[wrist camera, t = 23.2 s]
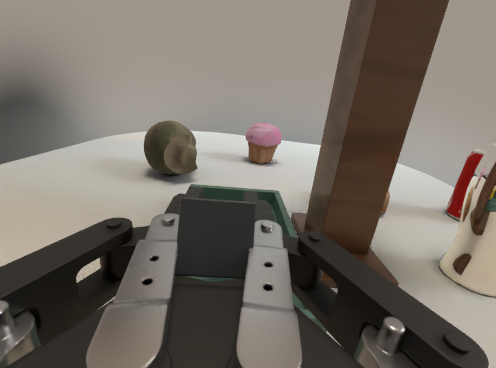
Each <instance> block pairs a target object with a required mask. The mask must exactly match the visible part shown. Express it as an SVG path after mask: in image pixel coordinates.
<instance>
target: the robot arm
mask: <svg viewBox="0 0 496 368" xmlns="http://www.w3.org/2000/svg"><path fill="white" fill-rule="evenodd" d="M182 197H189V198H202V199H203V187H195V186H190V187H189V189H188V191H187V193H186V194H178V195H176V196H175V197H173V199H172V201H171V203H170V204H169V206H168V208H167V210H166V211H165V213H164V214H161V215H158V216H156V217H154V218H153V219H152V222H151V224H150V226H145V227H136V228H133V226H132V222H131V221H130V220H129V219H126V218H111V219H107V220H104V221H102V222H99V223H97V224H95V225H93V226H91V227H88V228H86V229H84V230H82V231H79V232H77V233H75V234H73V235H71V236H68V237H66V238H64V239H62V240H59V241H57V242H55V243H53V244H51V245H48V246H46V247H44V248H42V249H40V250H37V251H35V252H33V253H31V254H28V255H26V256H24V257H22V258H20V259H17V260H15V261H13V262H11V263H8V264H6V265H4V266H2V267H0V368H488V365H489V362H488V358H487V356H486V354H485V353H484V351H483V350H482V349H481V347H480V346H479V345H478V344H477V343H476V342H475V341H473V340H472V339H471V338H470V337H469V336H467V335H466V334H464V333H463V332H462V331H460V330H459V329H457V328H456V327H454V326H453V325H452V324H450V323H449V322H447V321H446V320H445V319H443V318H442V317H440V316H439V315H437V314H436V313H435V312H433V311H432V310H430V309H429V308H428V307H426V306H425V305H423V304H422V303H420V302H419V301H418V300H416V299H415V298H413V297H412V296H411V295H409V294H408V293H406V292H405V291H403V290H402V289H401V288H399V287H398V286H396V285H395V284H394V283H392V282H391V281H389V280H388V279H386V278H385V277H384V276H382V275H381V274H379V273H378V272H377V271H375V270H374V269H372V268H371V267H369V266H368V265H367V264H365V263H364V262H362V261H361V260H360V259H358V258H357V257H355V256H354V255H353V254H351V253H350V252H348V251H347V250H345V249H344V248H343V247H341V246H340V245H338V244H337V243H336V242H334V241H333V240H331V239H330V238H328V237H327V236H326V235H324V234H322V233H320V232H316V231H303V232H301V233H300V234H299V238H296V237H292V236H288V235H286V234H284V233H282V228H281V226H280V225H279V224H278V223H276V222H275V219H274V216H273V213H272V209H271V205H270V204H269V203H268V202H267V201H266V200H259V199H258V194H257V191H247V190H245V191H244V198H243V201H244V202H255V203H256V216H255V232H254V247H253V248H249V254H248V261H247V269H246V277H245V279H232V280H224V281H217V282H207V281H203V280H199V279H195V278H191V277H187V276H176V272H177V269H178V247H179V244H178V243H177V233H178V223H179V213H180V204H181V198H182ZM99 257H100V264H101V268H100V269H99V270H97V271H96V272H94V273H92V274H91V275H89V276H88V277H86V278H84V279H83V280H81V281H80V282H78V283H77V282H76V276H77V274H78V272H79V271H80V269H81V268H83V267H84V266H86V265H87V264H89V263H91V262H92V261H94V260H96V259H98V258H99ZM323 273H326V274H327V275H328V276H329V277H330V278H331V279H332V280H333V281H334V282H335V283H336V286H337V289H338V293H337V294H336V293H335V292H334V291H333V290H332V289H331V288H330V287H329V286H328V285H326V284H325V283H324V282H323V281H322V277H323ZM292 292H293V293H294V294H295V295H296V296H297V298H298V299H299V300H300V301H301V302H302V303H303V304H304V305H305V306H306V308H307V309H308V310H309V311H310V312H311V313H312V314H313V315H314V316H315V318H316V319H317V320H318V321H319V322H320V323H321V324H322V325H323V326H324V327H325V329H326V330H327V331H328V332H329V333H330V334H331V335H332V336H333V337H334V339H335V340H336V341H337V342H338V343H339V344H340V345H341V346H342V347H343V348H342V347H341V346H340V345H339V344H338V343H337V342H335V341H334V340H333V339H332V338H331V337H330V336H329V335H328V334H326V333H325V332H324V331H323V330H322V329H321V328H320V327H319V326H318V325H316V324H315V323H314V322H313V321H312V320H311V319H310V318H309V317H308V316H306V315H305V314H304V313H303V312H302V311H301V310H300V309H299V308H298V307H297V306H295V305H294V304H293V298H292ZM114 296H115V299H114V300H112V301H111V302H109V303H108V304H106V305H104V304H105V303H107V302H108V301H109V300H110V299H112V298H113V297H114ZM103 305H104V306H103ZM101 306H103V307H101ZM100 307H101V308H100ZM99 308H100V309H99ZM97 309H98V310H97Z"/></svg>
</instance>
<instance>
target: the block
mask: <svg viewBox="0 0 496 368" xmlns="http://www.w3.org/2000/svg"><path fill="white" fill-rule="evenodd" d="M255 216H256V203H255V202H244V201H230V200H216V199H202V198H189V197H182V198H181V204H180V213H179V223H178V233H177V243H178V244H179V247H178V269H177V272H176V276H191V277H212V278H232V279H245V277H246V269H247V261H248V254H249V248H253V247H254V232H255Z"/></svg>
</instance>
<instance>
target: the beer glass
mask: <svg viewBox="0 0 496 368" xmlns="http://www.w3.org/2000/svg"><path fill="white" fill-rule="evenodd" d="M439 266H440V268H441V270H442V271H443V272H444V273H445V274H446V275H447V276H448V277H449V278H450V279H452V280H453V281H455V282H456V283H458V284H459V285H461V286H463V287H465V288H467V289H469V290H472V291H474V292H477V293H480V294H483V295H487V296H494V297H496V141H491V142H490V145H489V146H488V148H487V150H486V152H485V154H484V155H483V157H482V159H481V161H480V162H479V164H478V166H477V168H476V170H475V172H474V174H473V176H472V178H471V181H470V183H469V186H468V188H467V191H466V195H465V198H464V202H463V207H462V212H461V217H460V222H459V227H458V232H457V235H456V238H455V240H454V242H453V244H452V246H451V248H450V249H449V251H448V252H447V253H446V254H445V256H444V257H443V258H442V259H441V261H440V263H439Z"/></svg>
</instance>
